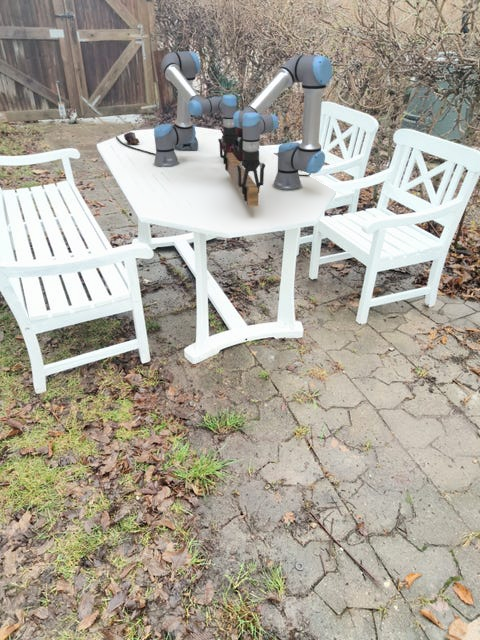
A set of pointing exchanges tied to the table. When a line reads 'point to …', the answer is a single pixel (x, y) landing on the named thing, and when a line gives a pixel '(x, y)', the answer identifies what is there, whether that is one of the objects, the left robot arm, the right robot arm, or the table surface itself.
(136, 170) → the table surface
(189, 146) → the grey slotted block
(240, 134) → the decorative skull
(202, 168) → the table surface
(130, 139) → the rock
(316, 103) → the right robot arm
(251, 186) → the post
